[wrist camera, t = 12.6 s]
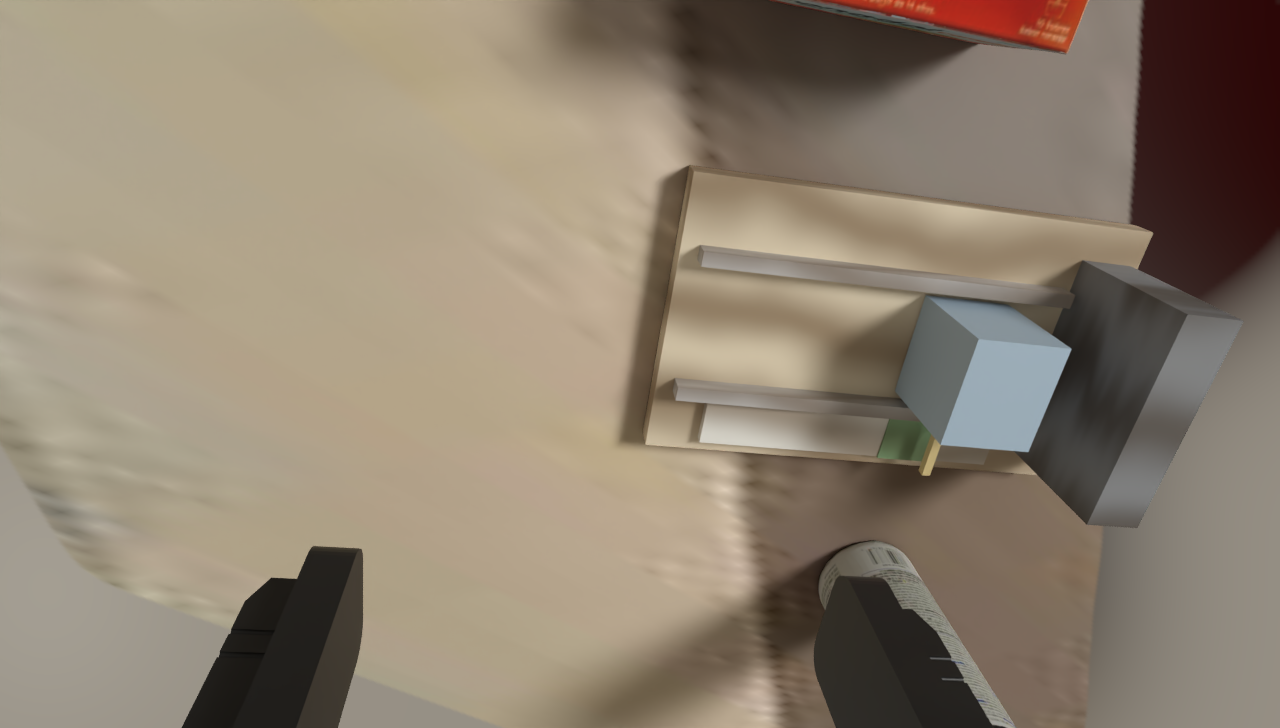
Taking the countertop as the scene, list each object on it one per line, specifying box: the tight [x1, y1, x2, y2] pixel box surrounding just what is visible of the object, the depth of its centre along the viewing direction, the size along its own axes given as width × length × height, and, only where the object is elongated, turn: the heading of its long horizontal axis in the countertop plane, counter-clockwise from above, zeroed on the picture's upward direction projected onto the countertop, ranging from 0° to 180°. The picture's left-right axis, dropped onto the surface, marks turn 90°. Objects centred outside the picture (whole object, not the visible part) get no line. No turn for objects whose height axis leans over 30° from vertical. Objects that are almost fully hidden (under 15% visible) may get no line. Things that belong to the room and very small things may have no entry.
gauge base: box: [643, 165, 1243, 528], centre depth 41 cm, size 16×26×10 cm, turn 82°
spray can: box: [819, 541, 1016, 728], centre depth 45 cm, size 7×7×20 cm
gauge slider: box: [895, 295, 1071, 476], centre depth 43 cm, size 10×6×6 cm, turn 172°
